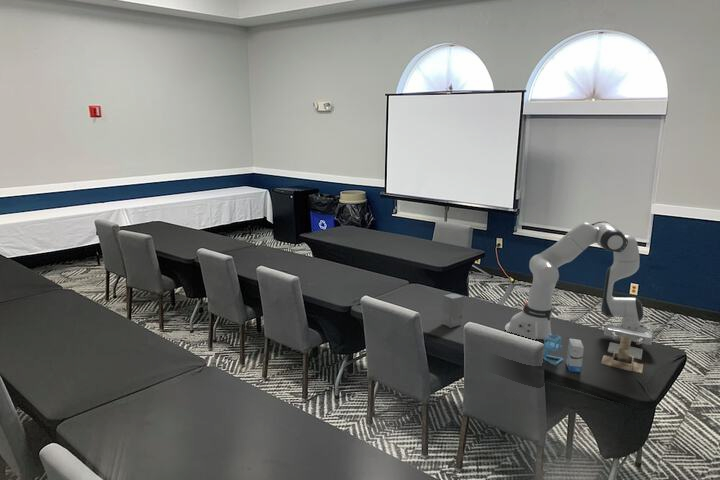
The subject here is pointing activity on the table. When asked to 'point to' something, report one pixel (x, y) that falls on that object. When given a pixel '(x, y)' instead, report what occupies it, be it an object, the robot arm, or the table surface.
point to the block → (624, 349)
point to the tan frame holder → (622, 363)
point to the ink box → (575, 355)
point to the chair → (552, 348)
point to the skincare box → (452, 310)
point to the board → (633, 351)
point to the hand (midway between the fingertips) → (626, 340)
